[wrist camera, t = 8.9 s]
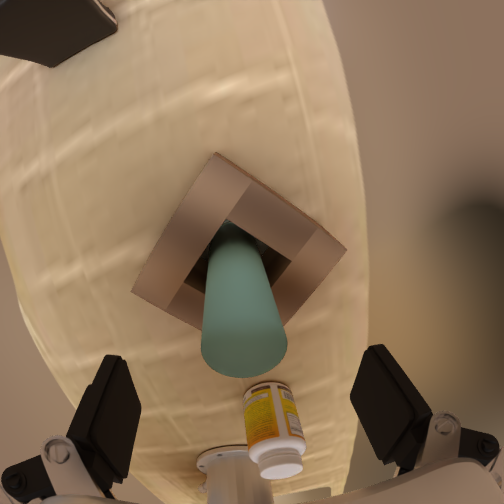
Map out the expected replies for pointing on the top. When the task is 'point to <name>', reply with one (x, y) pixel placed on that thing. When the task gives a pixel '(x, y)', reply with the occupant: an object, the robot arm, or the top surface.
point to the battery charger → (52, 28)
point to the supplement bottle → (273, 430)
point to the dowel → (239, 308)
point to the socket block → (249, 219)
